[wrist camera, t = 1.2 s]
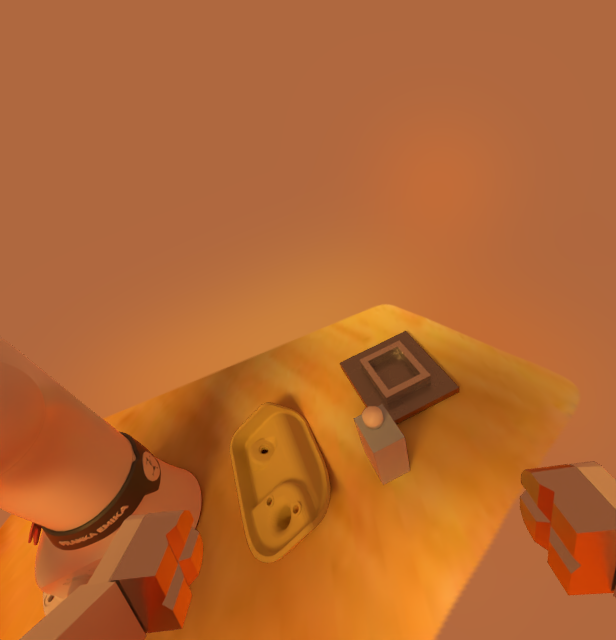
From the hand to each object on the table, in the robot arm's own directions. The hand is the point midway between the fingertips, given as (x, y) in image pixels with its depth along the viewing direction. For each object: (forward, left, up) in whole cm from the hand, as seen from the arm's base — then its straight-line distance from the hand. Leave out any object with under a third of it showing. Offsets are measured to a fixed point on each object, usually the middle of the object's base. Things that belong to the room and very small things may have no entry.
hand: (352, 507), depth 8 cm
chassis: (+14, +28, -37) cm, 49 cm away
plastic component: (-8, +21, -38) cm, 44 cm away
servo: (+6, +17, -37) cm, 42 cm away
